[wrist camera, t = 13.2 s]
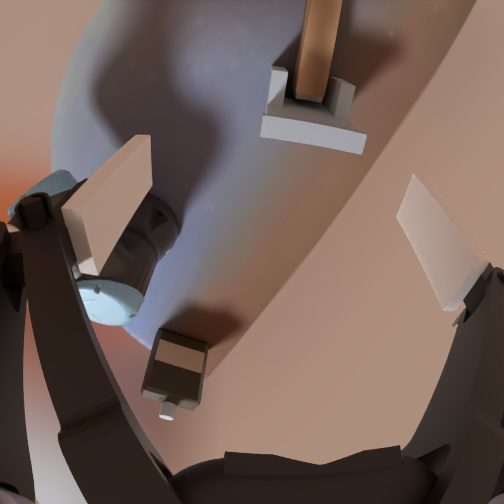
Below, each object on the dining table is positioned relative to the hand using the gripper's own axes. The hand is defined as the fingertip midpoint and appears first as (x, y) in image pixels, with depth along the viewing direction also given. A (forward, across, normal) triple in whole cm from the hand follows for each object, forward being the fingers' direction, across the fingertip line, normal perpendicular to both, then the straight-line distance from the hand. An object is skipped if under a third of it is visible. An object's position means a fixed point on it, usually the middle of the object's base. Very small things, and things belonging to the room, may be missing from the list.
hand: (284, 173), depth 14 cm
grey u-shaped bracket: (+35, +5, -1) cm, 35 cm away
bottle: (+35, -16, -72) cm, 82 cm away
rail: (+35, +5, +8) cm, 36 cm away
